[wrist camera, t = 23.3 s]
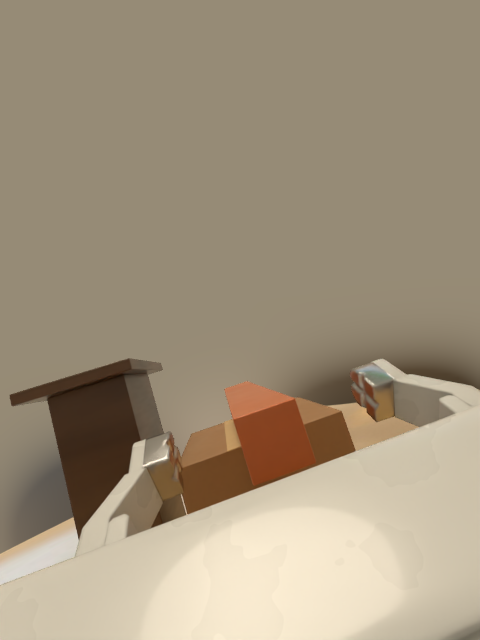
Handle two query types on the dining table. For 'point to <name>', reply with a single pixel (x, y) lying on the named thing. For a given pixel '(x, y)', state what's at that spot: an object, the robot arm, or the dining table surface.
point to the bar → (269, 431)
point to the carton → (229, 462)
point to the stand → (101, 430)
